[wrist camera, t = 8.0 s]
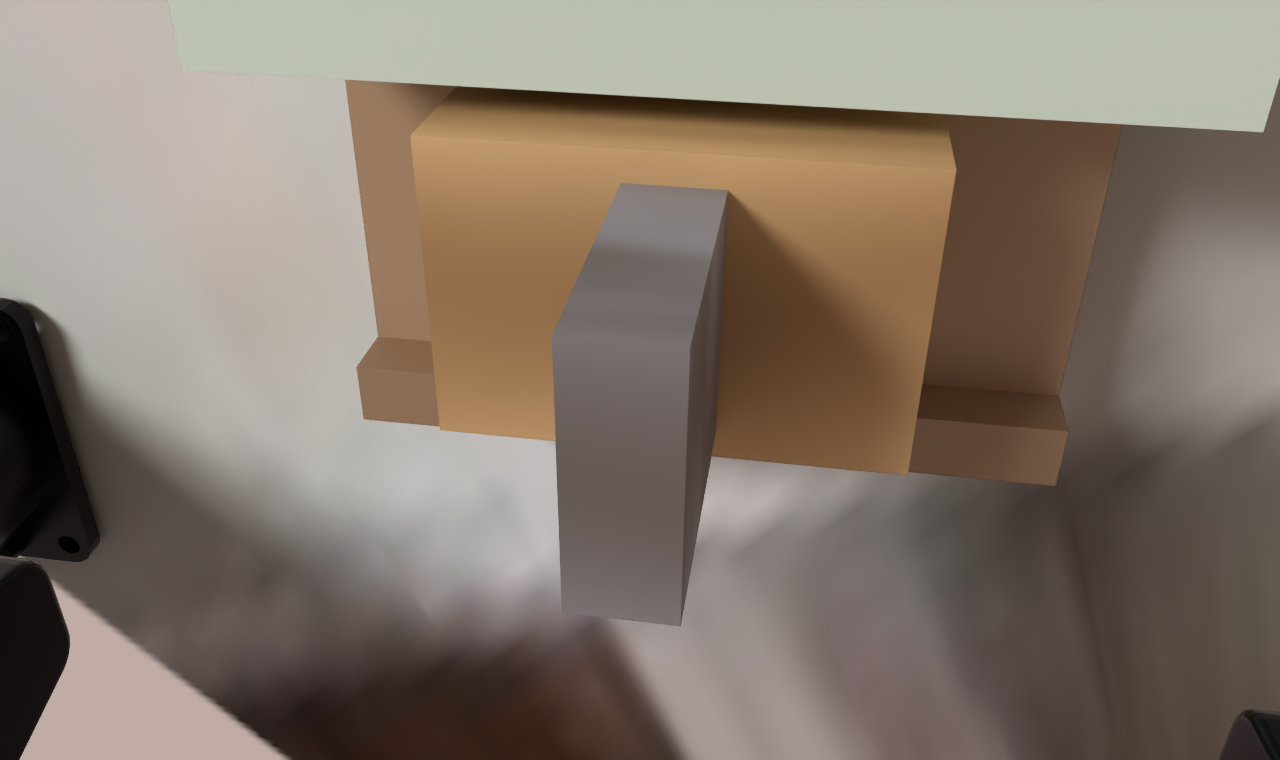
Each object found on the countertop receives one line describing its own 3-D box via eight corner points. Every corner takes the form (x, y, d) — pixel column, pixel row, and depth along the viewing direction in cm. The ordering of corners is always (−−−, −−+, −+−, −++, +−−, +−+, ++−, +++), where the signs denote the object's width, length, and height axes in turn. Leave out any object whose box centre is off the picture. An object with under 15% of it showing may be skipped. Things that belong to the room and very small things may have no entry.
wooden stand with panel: (1056, 371, 20) (1121, 601, 15) (404, 315, 22) (271, 509, 17) (1167, -115, 16) (1308, -17, 11) (352, -141, 18) (154, -65, 13)
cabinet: (896, 332, 18) (917, 699, 11) (516, 302, 19) (342, 627, 12) (934, 60, 16) (988, 328, 9) (501, 39, 16) (281, 271, 10)
